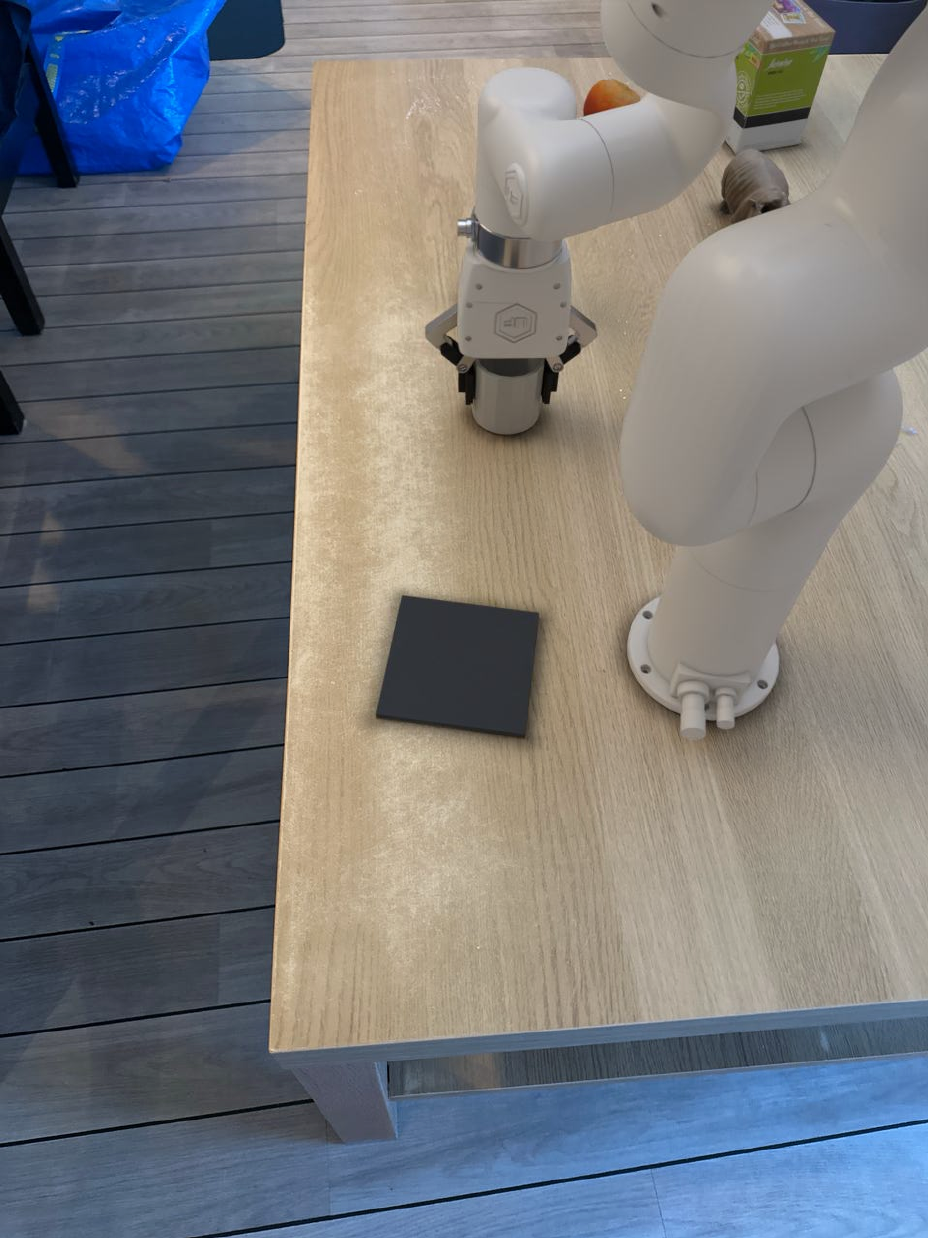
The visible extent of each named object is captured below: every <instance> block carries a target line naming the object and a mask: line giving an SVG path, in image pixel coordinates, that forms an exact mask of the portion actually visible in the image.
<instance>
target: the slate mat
mask: <svg viewBox="0 0 928 1238" xmlns="http://www.w3.org/2000/svg"><path fill="white" fill-rule="evenodd" d="M539 616H540V612H536V611H531V610H530V611H529V610H521V609H514V608H513V609H512V608H505V607H497V606H490V605H482V604H475V603H467V602H459V601H452V600H451V601H450V600H445V599H444V600H443V599H435V598H428V597H421V596H412V595H404V594H402V595H401V599H400V602H399V607H398V611H397V616H396V620H395V621H396V622H395V624H394V629H393V634H392V638H391V643H390V647H389V652H388V657H387V662H386V666H385V671H384V674H383V679H382V685H381V688H380V694H379V698H378V702H377V707H376V711H375V717H376V719H383V720H384V719H385V720H392V721H397V722H406V723H413V724H421V725H427V726H435V727H442V728H449V729H456V730H457V729H458V730H464V731H472V732H478V733H485V734H494V735H501V736H508V737H515V738H522V739H524V738H525V736H526V730H527V719H528V712H529V704H530V694H531V686H532V679H533V678H532V677H533V669H534V661H535V652H536V643H537V634H538V627H539V626H538V625H539Z"/></svg>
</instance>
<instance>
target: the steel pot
mask: <svg viewBox="0 0 928 1238" xmlns="http://www.w3.org/2000/svg"><path fill="white" fill-rule="evenodd" d="M544 364H545V358H476V359H475V361H474V362H473V368H474V387H473V404H471V414H472V417H473V419H474V421H475V422H476V424H478V425H479V426H480V427H481V428H483V429H484V430H485V431H489V432H491V433H493V434H499V435H515V434H521V433H523V432H525V431H527V430H529V429H531V428H532V427H533V426H534V425H535V424H536V422H537V421H538V419H539V415H540V409H541V401H542V398H541V391H542V382H543V373H544Z"/></svg>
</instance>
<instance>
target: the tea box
mask: <svg viewBox="0 0 928 1238" xmlns="http://www.w3.org/2000/svg"><path fill="white" fill-rule="evenodd" d="M835 34H836V30H835V29H834V28H832V26H830V24H828V23H827V22H826V21H825V20H824V19H823V17H821V16H820V15H819V14H818V13H817V12H815V10H814V9H813V8H811V7H810V6H809V5H808V4H807V3H806V2H805V1H804V0H776V2H775V3H774V4H773V6H772V7H771V9H770V10H769V11H768V13H767V14H766V16H765V17H764V18H763V20H762V21H761V23H760V24H759V25H758V27H757V28H756V30H755V31H754V32H753V34H752V35H751V37H750V38H749V40H748V41H747V43H746V44H745V45H744V47H743V48H742V49H741V51H740V52H739V54H738V55H737V56H736V58H735V59H734V61H735V66H736V74H737V94H736V103H735V109H734V115H733V120H732V124H731V127H730V130H729V133H728V135H727V137H726V139H725V141H724V142H725V143H726V144H727V145H728V146H729V148H730V149H731V150H732V151H733V153H734V154H735V155H737V154H739V153H740V152H742V151H744V150H746V149H749V148H750V149H756V150H758V151H759V152H761V151H767V150H774V149H780V148H785V147H791V146H796V145H800V143H801V140H802V137H803V135H804V132H805V128H806V125H807V122H808V119H809V116H810V113H811V109H812V107H813V103H814V100H815V97H816V94H817V91H818V87H819V85H820V81H821V79H822V76H823V72H824V69H825V66H826V62H827V60H828V56H829V53H830V50H831V47H832V44H833V42H834V41H833V40H834V37H835Z"/></svg>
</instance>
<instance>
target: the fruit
mask: <svg viewBox="0 0 928 1238" xmlns="http://www.w3.org/2000/svg"><path fill="white" fill-rule="evenodd" d="M641 99H642V98H641V96H640V95H639V94H638V92H636V91H635V89H632V88H631V87H630V86H628V85H627V84H625V83H624V82H622V81H618V80H617V79H614V78H612V79H611V78H610V79H601V80H598V81H597V82H596V83H594V85H592V87H591V88H590V90H589V91H588V93H587V95H586V97H585V99H584V102H583V108H582V113H583V114H582V115H583V116H582V117H584V116H588V115H591V114H595V113H599V112H603V111H607V110H610V109H614V108H618V107H623V106H627V105H631V104H635V103H637V102H639V101H640V100H641Z"/></svg>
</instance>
